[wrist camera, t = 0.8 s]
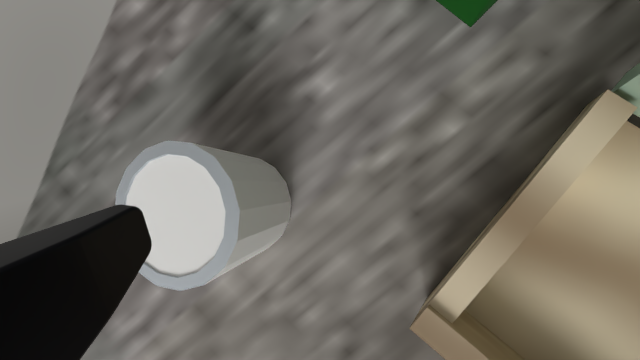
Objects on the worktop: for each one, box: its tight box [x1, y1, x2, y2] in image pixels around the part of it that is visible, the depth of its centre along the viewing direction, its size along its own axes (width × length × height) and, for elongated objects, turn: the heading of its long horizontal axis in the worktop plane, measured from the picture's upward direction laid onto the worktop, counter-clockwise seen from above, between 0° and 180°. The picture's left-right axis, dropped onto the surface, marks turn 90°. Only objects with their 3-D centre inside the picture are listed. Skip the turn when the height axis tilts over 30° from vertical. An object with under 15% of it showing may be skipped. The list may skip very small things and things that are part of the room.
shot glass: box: [115, 140, 291, 291], centre depth 25 cm, size 7×7×7 cm
